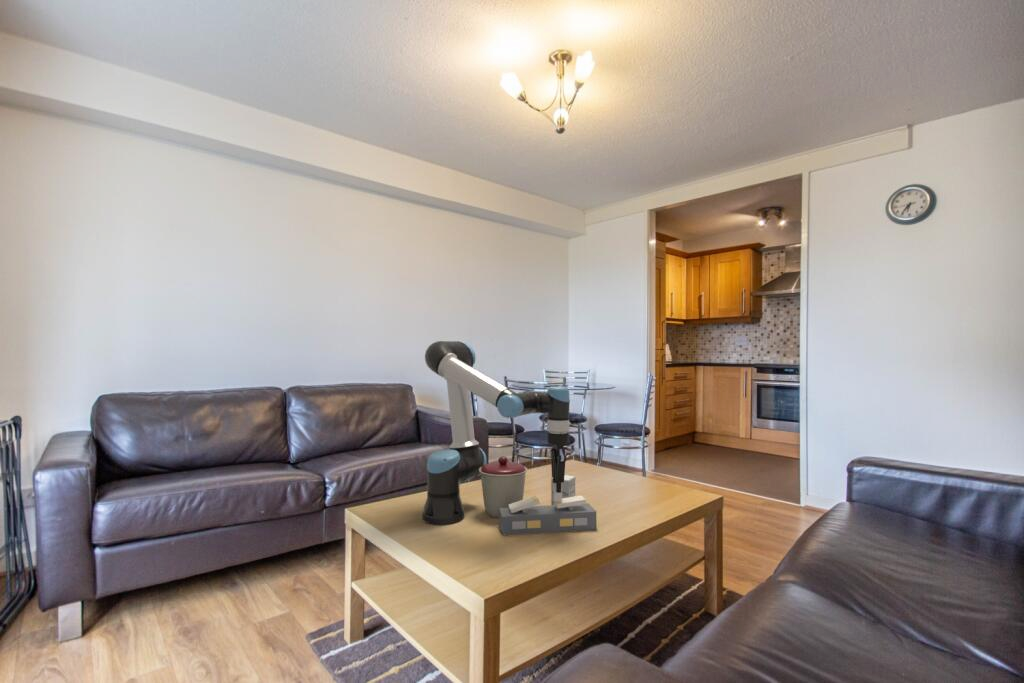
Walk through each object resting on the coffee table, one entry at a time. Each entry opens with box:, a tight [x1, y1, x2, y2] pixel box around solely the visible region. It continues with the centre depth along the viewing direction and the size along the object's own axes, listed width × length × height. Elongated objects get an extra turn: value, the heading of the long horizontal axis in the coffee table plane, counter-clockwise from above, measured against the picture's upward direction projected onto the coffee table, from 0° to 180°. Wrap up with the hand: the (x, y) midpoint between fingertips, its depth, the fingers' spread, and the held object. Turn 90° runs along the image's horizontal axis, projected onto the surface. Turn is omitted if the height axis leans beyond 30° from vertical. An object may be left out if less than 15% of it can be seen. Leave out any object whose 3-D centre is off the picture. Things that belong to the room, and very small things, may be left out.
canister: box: [479, 456, 528, 519], centre depth 176 cm, size 18×18×21 cm
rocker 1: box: [509, 494, 540, 513], centre depth 161 cm, size 10×5×2 cm, turn 99°
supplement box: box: [550, 474, 576, 505], centre depth 180 cm, size 7×7×13 cm
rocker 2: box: [554, 495, 587, 508], centre depth 163 cm, size 10×5×2 cm, turn 98°
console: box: [498, 502, 598, 536], centre depth 162 cm, size 32×9×8 cm, turn 98°
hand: (557, 501), depth 162 cm, fingers closed
